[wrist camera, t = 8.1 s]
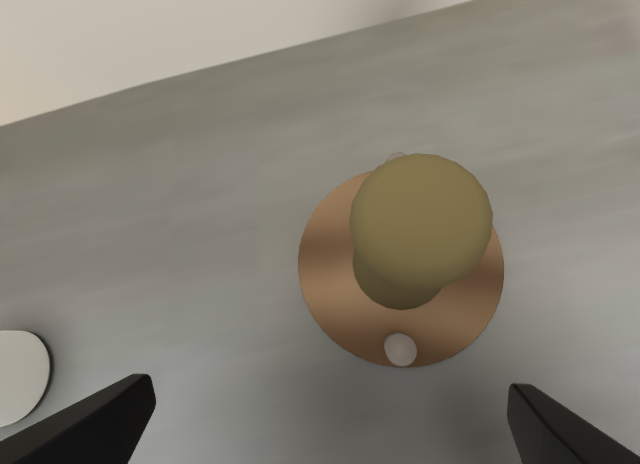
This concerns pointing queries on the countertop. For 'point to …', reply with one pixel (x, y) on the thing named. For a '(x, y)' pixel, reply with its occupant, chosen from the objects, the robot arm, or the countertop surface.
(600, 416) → the countertop surface
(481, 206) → the cork
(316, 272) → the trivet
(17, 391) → the can
